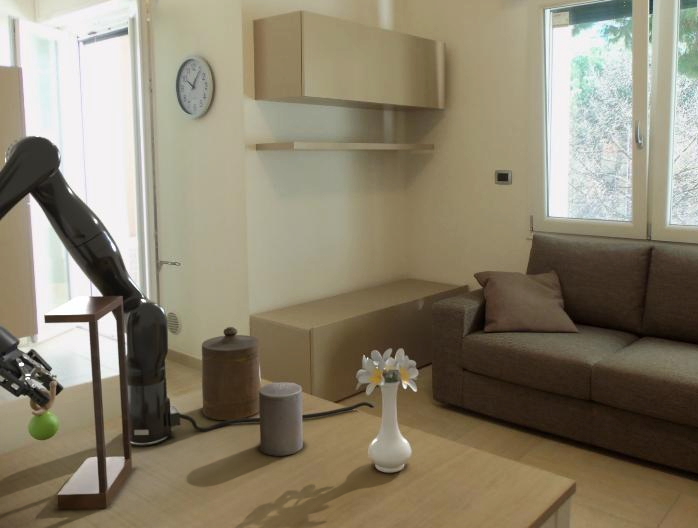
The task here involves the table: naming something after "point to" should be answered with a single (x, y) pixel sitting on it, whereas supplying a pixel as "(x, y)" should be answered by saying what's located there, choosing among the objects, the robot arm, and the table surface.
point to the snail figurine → (44, 416)
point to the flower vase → (388, 406)
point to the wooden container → (230, 376)
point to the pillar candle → (280, 418)
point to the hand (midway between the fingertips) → (53, 397)
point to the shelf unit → (97, 409)
